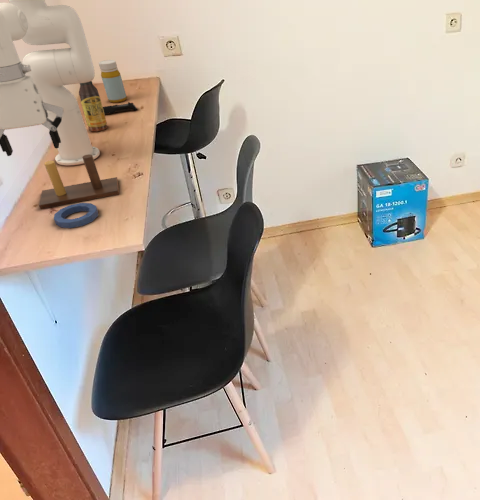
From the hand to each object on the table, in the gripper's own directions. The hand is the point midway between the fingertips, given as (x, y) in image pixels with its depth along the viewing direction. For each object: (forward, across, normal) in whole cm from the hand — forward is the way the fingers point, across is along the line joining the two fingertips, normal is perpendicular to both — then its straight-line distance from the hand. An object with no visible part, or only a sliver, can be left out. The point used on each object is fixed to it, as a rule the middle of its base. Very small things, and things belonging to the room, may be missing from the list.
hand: (34, 150), depth 116 cm
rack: (+18, -4, -12) cm, 22 cm away
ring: (+18, -4, +1) cm, 19 cm away
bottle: (+16, -16, -96) cm, 99 cm away
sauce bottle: (+17, -9, -64) cm, 67 cm away
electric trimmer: (+17, -15, -80) cm, 83 cm away
